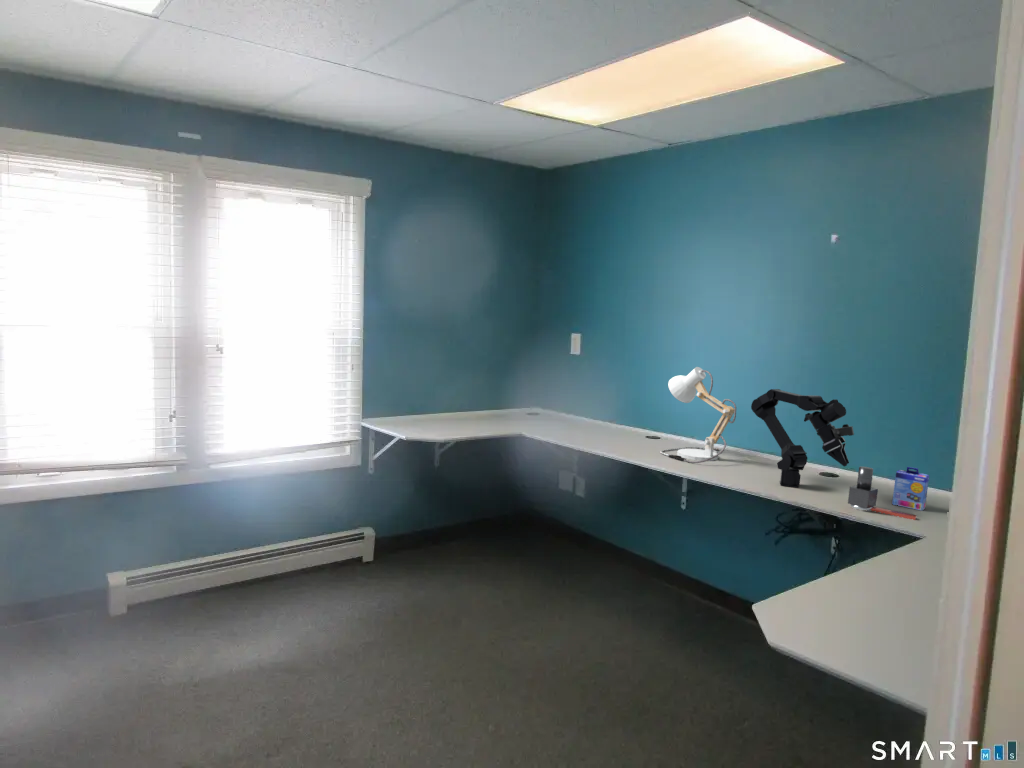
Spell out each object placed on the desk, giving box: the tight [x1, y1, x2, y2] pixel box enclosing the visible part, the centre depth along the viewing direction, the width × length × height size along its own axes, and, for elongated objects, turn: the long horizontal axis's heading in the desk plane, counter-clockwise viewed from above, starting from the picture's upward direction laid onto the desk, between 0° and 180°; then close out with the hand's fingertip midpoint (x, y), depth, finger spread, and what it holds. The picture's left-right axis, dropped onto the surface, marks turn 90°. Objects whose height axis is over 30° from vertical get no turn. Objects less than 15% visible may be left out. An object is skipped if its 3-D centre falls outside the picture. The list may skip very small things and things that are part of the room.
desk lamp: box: [659, 366, 737, 464], centre depth 309 cm, size 31×38×40 cm
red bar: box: [849, 504, 917, 521], centre depth 235 cm, size 20×9×4 cm, turn 38°
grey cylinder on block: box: [847, 466, 879, 508], centre depth 238 cm, size 7×7×13 cm
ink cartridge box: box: [891, 466, 930, 511], centre depth 244 cm, size 10×6×14 cm, turn 51°
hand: (846, 464), depth 248 cm, fingers open, 9 cm apart
